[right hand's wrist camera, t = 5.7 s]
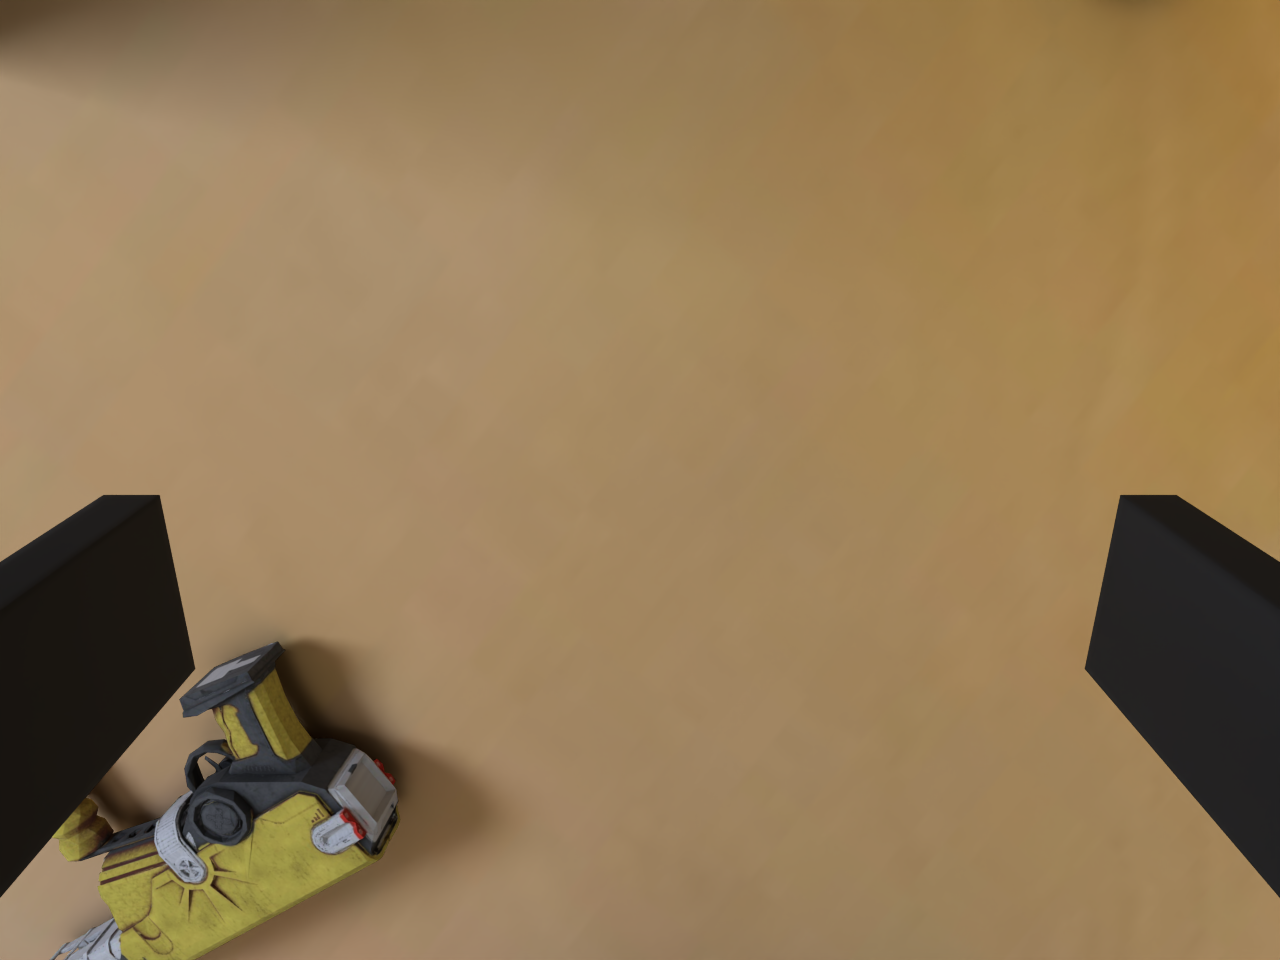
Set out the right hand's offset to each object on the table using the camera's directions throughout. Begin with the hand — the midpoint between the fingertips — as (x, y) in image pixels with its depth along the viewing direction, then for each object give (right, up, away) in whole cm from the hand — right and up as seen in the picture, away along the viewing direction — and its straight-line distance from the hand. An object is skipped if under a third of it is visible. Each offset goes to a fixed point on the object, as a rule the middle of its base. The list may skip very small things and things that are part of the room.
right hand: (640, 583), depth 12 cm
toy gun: (-26, -16, +36) cm, 47 cm away
